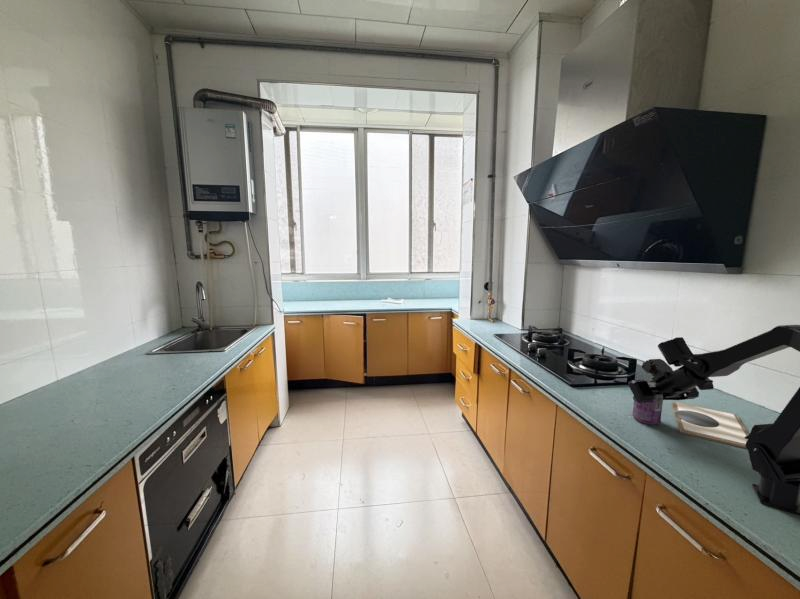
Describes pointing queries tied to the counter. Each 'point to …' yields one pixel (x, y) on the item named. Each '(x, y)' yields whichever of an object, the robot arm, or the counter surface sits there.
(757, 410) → the counter surface
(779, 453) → the robot arm
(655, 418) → the beverage can
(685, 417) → the wooden tray
